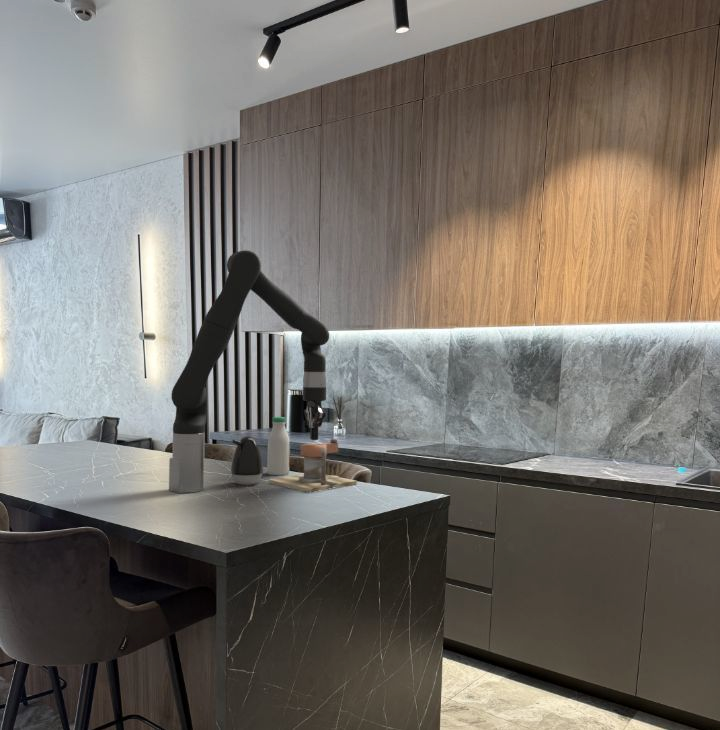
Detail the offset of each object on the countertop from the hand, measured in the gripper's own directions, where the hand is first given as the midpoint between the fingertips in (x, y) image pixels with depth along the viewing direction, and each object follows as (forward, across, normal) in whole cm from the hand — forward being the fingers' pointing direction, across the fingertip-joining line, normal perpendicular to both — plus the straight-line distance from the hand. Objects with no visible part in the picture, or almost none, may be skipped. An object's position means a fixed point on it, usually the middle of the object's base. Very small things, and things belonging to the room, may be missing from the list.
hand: (314, 439), depth 191 cm
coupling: (+5, +1, -3) cm, 6 cm away
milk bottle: (+14, +22, +5) cm, 27 cm away
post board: (+14, 0, 0) cm, 14 cm away
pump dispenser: (+14, +8, +20) cm, 26 cm away
